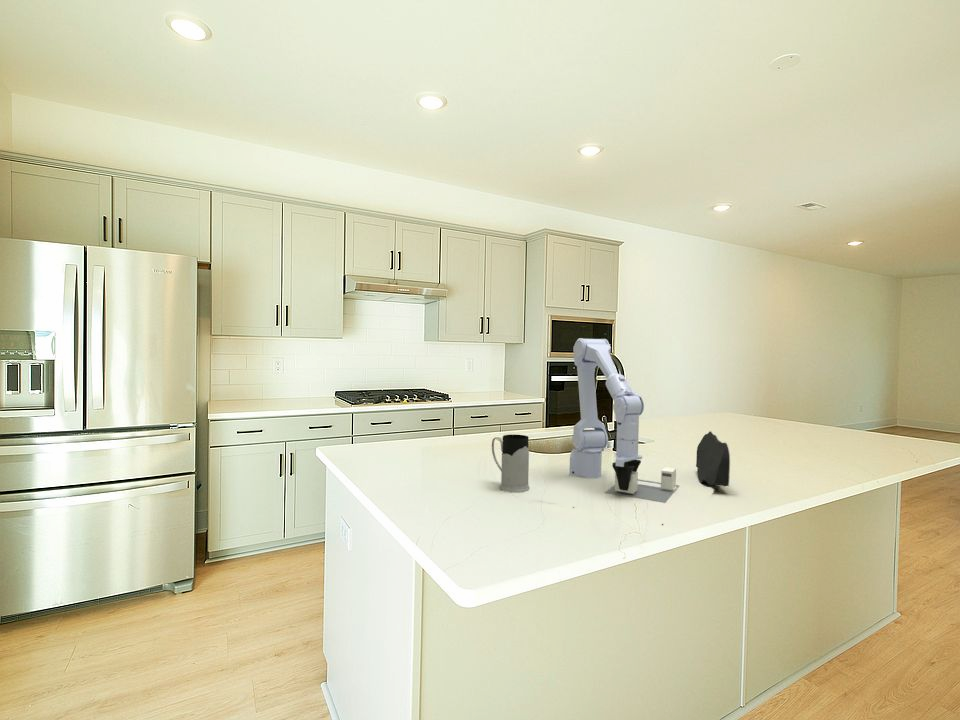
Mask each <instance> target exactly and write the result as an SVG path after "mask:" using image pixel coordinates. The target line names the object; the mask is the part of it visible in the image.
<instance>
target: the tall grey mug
mask: <svg viewBox="0 0 960 720" xmlns="http://www.w3.org/2000/svg"><path fill="white" fill-rule="evenodd" d="M496 439H497V440H498V441H499V442H500V450H501V465H500V464H499V462H498V460H497V457H496V453H495V441H496ZM529 439H530V438H529V436H528V435H524V434H504V435H502V439H501V437H499V436H495V437H493V438H492V441H491V453H492V456H493V460H494V462H495V464H496V466H497V468H498V469H499V471H500V472H501V477H500V478H501V479H500V482H501V483H500V486H499V489H500V490H501V489H502V490H501V491H503V490H504V491H503V492H507V491H508V493H525V491H526V492H528V491H530V490H529V489H531V488H530V485H529V469H530V467H529V465H530V463H529V462H530V461H529V459H530V458H529V457H530V448H529Z"/></svg>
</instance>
